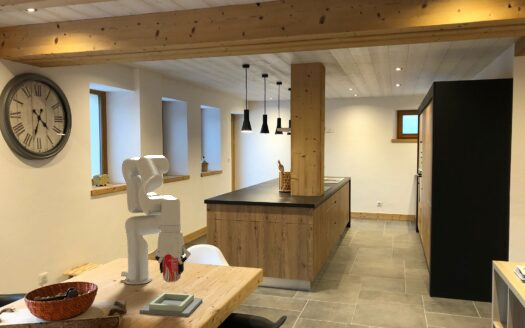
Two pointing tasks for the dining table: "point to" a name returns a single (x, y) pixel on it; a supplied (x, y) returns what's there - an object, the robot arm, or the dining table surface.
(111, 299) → the dining table surface
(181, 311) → the holder board
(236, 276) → the dining table surface
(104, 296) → the dining table surface
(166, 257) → the soda can
